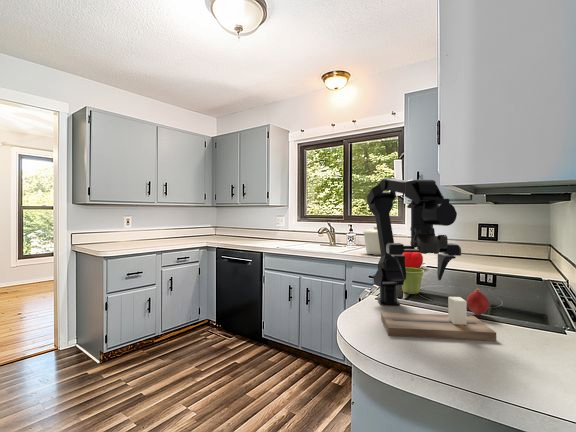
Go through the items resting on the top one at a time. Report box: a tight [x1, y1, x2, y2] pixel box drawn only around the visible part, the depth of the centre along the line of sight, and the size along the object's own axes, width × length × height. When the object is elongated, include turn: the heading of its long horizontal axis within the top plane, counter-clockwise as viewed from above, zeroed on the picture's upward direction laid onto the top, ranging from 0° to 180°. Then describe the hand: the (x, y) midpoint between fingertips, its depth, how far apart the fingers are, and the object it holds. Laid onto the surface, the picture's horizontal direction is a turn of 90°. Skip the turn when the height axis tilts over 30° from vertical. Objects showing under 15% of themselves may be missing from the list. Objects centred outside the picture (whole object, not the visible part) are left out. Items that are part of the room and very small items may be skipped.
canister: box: [362, 224, 381, 256], centre depth 222 cm, size 18×18×21 cm
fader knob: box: [447, 296, 468, 325], centre depth 81 cm, size 4×3×6 cm
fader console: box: [380, 311, 497, 342], centre depth 82 cm, size 12×25×2 cm, turn 82°
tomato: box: [403, 252, 424, 269], centre depth 168 cm, size 11×13×10 cm
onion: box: [465, 288, 490, 316], centre depth 92 cm, size 6×6×8 cm
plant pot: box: [401, 267, 425, 295], centre depth 119 cm, size 9×9×9 cm
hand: (421, 279), depth 87 cm, fingers open, 9 cm apart
